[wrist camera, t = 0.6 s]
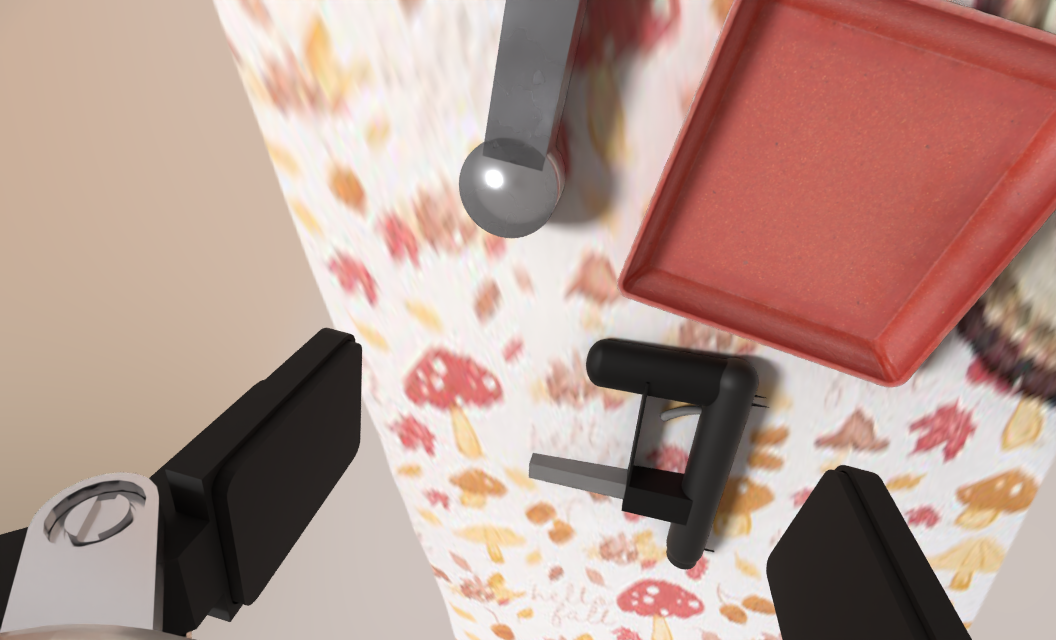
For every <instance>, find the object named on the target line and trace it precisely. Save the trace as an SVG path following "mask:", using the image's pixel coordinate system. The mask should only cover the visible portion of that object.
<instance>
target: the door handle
mask: <svg viewBox="0 0 1056 640" xmlns="http://www.w3.org/2000/svg"><path fill="white" fill-rule="evenodd" d="M586 369H587V374H588V376H589V378H590V380H591V381H592V382H593V383H594V384H595V385H597V386H600V387H605V388H611V389H616V390H621V391H627V392H632V393H637V394H642V400H641V405H640V410H639V415H638V421H637V426H636V431H635V436H634V441H633V447H632V452H631V457H630V462H629V467H628V470H626V469H621V468H617V467H611V466H605V465H600V464H594V463H588V462H582V461H576V460H571V459H565V458H559V457H553V456H547V455H542V454H536V453H533V455H532V458H531V460H530V463H529V478H533V479H537V480H542V481H546V482H550V483H555V484H559V485H563V486H568V487H572V488H576V489H581V490H585V491H589V492H594V493H598V494H602V495H607V496H611V497H616V498H620V499H623V503H622V511H625V512H629V513H634V514H638V515H642V516H646V517H651V518H655V519H659V520H663V521H668V522H671V525H670V529H669V533H668V536H667V551H666V553H667V557H668V559H669V561H670V562H671V563H672V564H673V565H674V566H676V567H678V568H680V569H691V568H693V567H694V566H695V565H696V562H697V561H698V560H699V559H700V558H701V556H702V554H703V551H704V550H705V551H711V552H714V551H713V550H709V549H705V545H706V542H707V539H708V536H709V533H710V530H711V527H712V524H713V521H714V518H715V515H716V512H717V509H718V506H719V503H720V500H721V497H722V494H723V491H724V488H725V485H726V482H727V479H728V475H729V472H730V469H731V466H732V463H733V460H734V457H735V454H736V451H737V448H738V445H739V442H740V439H741V436H742V433H743V430H744V427H745V424H746V421H747V418H748V415H749V412H750V409H751V406H758V407H766V406H762V405H758V404H755V403H753V400H754V397H760V398H765V397H761V396H758V395H755V394H756V391H757V388H758V383H759V379H758V374H757V372H756V370H755V368H754V367H753V366H752V365H751V364H750V363H749V362H747V361H745V360H743V359H740V358H727V359H720V358H714V357H708V356H702V355H696V354H690V353H684V352H678V351H672V350H666V349H660V348H655V347H649V346H643V345H637V344H631V343H625V342H619V341H613V340H607V339H603V340H600V341H598V342H596V343H595V344H594V345H593V346H592V347H591V349H590V351H589V353H588V356H587V361H586ZM647 395H648V396H653V397H659V398H664V399H669V400H675V401H680V402H685V403H691V404H696V405H701V406H685V407H679V408H674V409H671V410H667V411H665V412H662V413H660V418H661V419H662V421H663V422H665V421H667V420H670V419H673V418H676V417H680V416H685V415H693V414H700V417H699V421H698V425H697V429H696V432H695V436H694V440H693V444H692V447H691V451H690V455H689V458H688V462H687V466H686V470H685V473H684V474H682V473H676V472H670V471H664V470H659V469H653V468H647V467H641V466H635V465H633V463H634V458H635V453H636V448H637V443H638V438H639V433H640V428H641V423H642V418H643V413H644V408H645V403H646V397H647ZM768 408H770V407H768Z"/></svg>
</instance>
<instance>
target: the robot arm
mask: <svg viewBox="0 0 1056 640" xmlns="http://www.w3.org/2000/svg"><path fill="white" fill-rule="evenodd" d="M361 379H362V347H361V345H360V344H359V343H355V338H354V336H353V335H352V334H349V333H345V332H341V331H337V330H334V329H330V328H323V329H321V330H320V331H319V332H318V333H317V334H316V335H315V336H313V337H312V338H311V339H310V340H309V341H308V342H307V343H305V344H304V345H303V347H301V348H300V349H299V350H298V351H297V352H295V353H294V354H293V355H292V356H291V357H290V358H289V359H288V360H286V361H285V363H283V364H282V365H281V366H280V367H279V368H278V369H276V370H275V371H274V372H273V373H272V374H271V375H270V376H269V377H267V379H265V380H262V381H260V382H259V383H257V384H256V385H254V386H253V387H252V388H251V389H250V390H249V391H247V392H246V393H245V394H244V395H243V396H242V397H241V398H239V399H238V400H237V401H236V402H235V403H234V404H233V405H232V406H230V407H229V408H228V409H227V410H226V411H225V412H224V413H222V414H221V415H220V416H219V417H218V418H217V419H216V420H215V421H213V422H212V423H211V424H210V425H209V426H208V427H207V428H205V429H204V430H203V431H202V432H201V433H200V434H199V435H198V436H196V437H195V438H194V439H193V440H192V441H191V442H190V443H189V444H187V445H186V446H185V447H184V448H183V449H182V450H181V451H179V453H177V454H176V455H175V456H174V457H173V458H171V459H170V460H169V461H168V462H167V463H166V464H165V465H164V466H162V467H161V468H160V469H159V470H158V471H157V472H156V473H155V474H153V475H152V476H151V477H150V478H146V477H144V476H141V475H139V474H135V473H124V472H118V473H110V474H102V475H99V476H95V477H92V478H88V479H85V480H82V481H80V482H78V483H76V484H74V485H72V486H70V487H68V488H65V489H64V490H62V491H61V492H59V493H58V494H56V495H55V496H54V497H52V498H51V499H49V500H48V501H47V502H46V503H45V504H44V505H43V506H42V507H41V508H40V510H38V512H36V513H35V515H34V517H33V519H32V521H31V523H30V525H29V527H26V528H23V529H19V530H16V531H12V532H8V533H5V534H1V535H0V640H194V639H192V631H193V630H195V629H197V627H198V626H199V625H200V624H201V622H202V621H203V620H204V618H205V617H206V616H207V615H209V616H213V617H216V618H219V619H222V620H225V621H228V622H231V620H232V619H233V618H234V616H235V615H236V614H237V612H238V611H239V609H240V608H241V606H242V605H243V604H244V605H248V606H249V605H251V604H252V603H253V602H254V601H255V600H256V599H257V598H258V597H259V595H260V594H261V592H262V591H263V589H264V588H265V587H266V585H267V583H268V582H269V581H270V579H271V577H272V576H273V575H274V573H275V572H276V571H277V569H278V568H279V566H280V565H281V563H282V562H283V560H284V559H285V558H286V556H287V555H288V553H289V552H290V550H291V549H292V547H293V546H294V544H295V543H296V542H297V540H298V539H299V537H300V536H301V534H302V533H303V531H304V530H305V528H306V527H307V526H308V524H309V522H310V521H311V520H312V518H313V517H314V515H315V514H316V513H317V511H318V510H319V508H320V507H321V505H322V504H323V502H324V501H325V499H326V498H327V496H328V495H329V494H330V492H331V491H332V489H333V488H334V486H335V485H336V484H337V482H338V481H339V479H340V478H341V476H342V475H343V473H344V472H345V470H346V469H347V467H348V466H349V465H350V463H351V462H352V460H353V459H354V457H355V455H356V453H357V451H358V448H359V444H360V428H361ZM766 572H767V578H768V582H769V586H770V590H771V594H772V599H773V603H774V607H775V611H776V615H777V619H778V623H779V627H780V631H781V635H782V639H783V640H972V639H971V637H970V635H969V634H968V632H967V630H966V628H965V627H964V625H963V623H962V621H961V619H960V618H959V616H958V614H957V612H956V611H955V609H954V607H953V605H952V603H951V602H950V600H949V598H948V596H947V595H946V593H945V591H944V589H943V587H942V586H941V584H940V582H939V580H938V579H937V577H936V575H935V573H934V572H933V570H932V568H931V566H930V564H929V563H928V561H927V559H926V557H925V556H924V554H923V552H922V550H921V548H920V547H919V545H918V543H917V541H916V540H915V538H914V536H913V534H912V532H911V531H910V529H909V527H908V525H907V524H906V522H905V520H904V518H903V516H902V515H901V513H900V511H899V509H898V508H897V506H896V504H895V502H894V501H893V499H892V497H891V495H890V493H889V492H888V490H887V488H886V486H885V485H884V483H883V481H882V479H881V478H880V477H879V476H878V475H877V474H875V473H873V472H869V471H865V470H861V469H858V468H854V467H850V466H846V465H840V466H838V467H837V468H836V469H835V470H828V471H826V472H825V473H824V475H823V476H822V478H821V479H820V481H819V482H818V484H817V485H816V487H815V488H814V490H813V491H812V493H811V494H810V496H809V497H808V499H807V500H806V502H805V503H804V505H803V506H802V508H801V509H800V511H799V512H798V514H797V515H796V517H795V518H794V520H793V521H792V523H791V524H790V525H789V527H788V528H787V530H786V531H785V533H784V534H783V536H782V537H781V539H780V540H779V542H778V543H777V545H776V546H775V548H774V549H773V551H772V552H771V554H770V556H769V558H768V561H767V567H766Z"/></svg>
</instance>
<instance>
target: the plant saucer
mask: <svg viewBox="0 0 1056 640" xmlns="http://www.w3.org/2000/svg"><path fill="white" fill-rule="evenodd" d="M1055 210H1056V35H1055V34H1053V33H1050V32H1047V31H1044V30H1040V29H1036V28H1033V27H1030V26H1026V25H1023V24H1020V23H1017V22H1014V21H1011V20H1008V19H1005V18H1001V17H998V16H994V15H991V14H987V13H985V12H982V11H979V10H976V9H974V8H970V7H965V6H962V5H959V4H956V3H953V2H951V1H947V0H734V1H733V3H732V5H731V8H730V10H729V13H728V15H727V17H726V20H725V22H724V25H723V27H722V30H721V32H720V35H719V37H718V40H717V42H716V44H715V47H714V49H713V52H712V54H711V57H710V59H709V61H708V64H707V66H706V69H705V71H704V74H703V76H702V78H701V81H700V83H699V86H698V88H697V90H696V92H695V95H694V97H693V100H692V102H691V104H690V107H689V110H688V113H687V115H686V117H685V120H684V122H683V124H682V127H681V129H680V132H679V134H678V136H677V139H676V141H675V143H674V146H673V149H672V151H671V153H670V156H669V158H668V160H667V162H666V165H665V167H664V169H663V172H662V174H661V177H660V180H659V182H658V184H657V187H656V189H655V192H654V194H653V196H652V199H651V201H650V204H649V206H648V209H647V211H646V214H645V216H644V218H643V220H642V223H641V226H640V228H639V231H638V233H637V235H636V238H635V240H634V242H633V245H632V247H631V249H630V252H629V254H628V256H627V259H626V261H625V264H624V266H623V269H622V271H621V273H620V276H619V278H618V281H617V288H618V290H619V292H620V293H621V295H622V296H624V297H626V298H629V299H632V300H634V301H637V302H640V303H643V304H646V305H648V306H651V307H655V308H658V309H661V310H663V311H666V312H670V313H672V314H675V315H678V316H681V317H684V318H687V319H690V320H693V321H696V322H698V323H701V324H704V325H707V326H710V327H713V328H716V329H718V330H722V331H725V332H728V333H731V334H734V335H737V336H739V337H742V338H745V339H747V340H750V341H753V342H757V343H759V344H762V345H765V346H769V347H771V348H774V349H777V350H780V351H783V352H785V353H789V354H792V355H794V356H797V357H799V358H802V359H805V360H808V361H811V362H814V363H817V364H820V365H823V366H825V367H828V368H832V369H835V370H838V371H840V372H843V373H846V374H849V375H851V376H854V377H857V378H860V379H863V380H866V381H869V382H872V383H874V384H877V385H880V386H884V387H897V386H900V385H903V384H904V383H905V382H907V381H908V380H909V379H910V378H911V376H912V375H913V374H914V373H915V372H916V370H917V369H918V368H919V367H920V366H921V365H922V363H923V362H924V361H925V360H926V359H927V358H928V357H929V355H930V354H931V353H932V352H933V351H934V350H935V349H936V348H937V347H938V346H939V344H940V343H941V342H942V341H943V339H944V338H945V337H946V336H947V335H948V333H949V332H950V331H951V330H952V329H953V328H954V327H955V326H956V325H957V323H958V322H959V321H960V320H961V319H962V318H963V317H964V315H965V314H966V313H967V312H968V311H969V310H970V308H971V307H972V306H973V305H974V304H975V303H976V301H977V300H978V299H979V298H980V297H981V296H982V295H983V294H984V293H985V292H986V291H987V290H988V288H989V287H990V286H991V285H992V283H993V282H994V281H995V279H996V278H997V277H998V276H999V275H1000V274H1001V273H1002V271H1003V270H1004V269H1005V268H1006V267H1007V266H1008V265H1009V263H1010V262H1011V261H1012V260H1013V259H1014V257H1015V256H1016V255H1017V254H1018V253H1019V252H1020V251H1021V249H1022V248H1023V247H1024V246H1025V245H1026V244H1027V243H1028V241H1029V240H1030V239H1031V237H1032V236H1033V235H1034V234H1035V233H1036V232H1037V231H1038V230H1039V229H1040V228H1041V227H1042V226H1043V224H1044V223H1045V222H1046V220H1047V219H1048V218H1049V217H1050V216H1051V215H1052V213H1053V212H1054V211H1055Z"/></svg>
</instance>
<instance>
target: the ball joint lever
mask: <svg viewBox="0 0 1056 640" xmlns="http://www.w3.org/2000/svg"><path fill="white" fill-rule="evenodd" d="M587 2H588V0H506V4H505V10H504V17H503V24H502V30H501V37H500V43H499V50H498V56H497V63H496V69H495V76H494V82H493V89H492V96H491V102H490V109H489V115H488V122H487V128H486V135H485V141H484V142H483V143H482V144H480V145H479V146H478V147H476V148H475V149H474V150H473V151H472V152H471V153H470V154H469V156H468V157H467V158H466V160H465V162H464V164H463V166H462V169H461V173H460V178H459V191H460V196H461V200H462V203H463V205H464V207H465V209H466V211H467V213H468V215H469V216H470V217H471V218H472V220H473V221H474V222H475V223H476V224H477V225H478V226H480V227H481V228H482V229H484V230H485V231H487V232H489V233H491V234H493V235H496V236H499V237H504V238H519V237H524V236H527V235H529V234H532V233H534V232H535V231H537V230H538V229H540V228H541V227H542V226H543V225H544V224H545V223H546V222H547V221H548V219H549V218H550V216H551V214H552V212H553V210H554V208H555V206H556V204H557V202H558V201H559V199H560V197H561V194H562V192H563V189H564V186H565V178H566V172H565V165H564V161H563V158H562V156H561V154H560V152H559V150H558V149H557V147H556V146H555V145H556V140H557V136H558V131H559V127H560V122H561V118H562V113H563V109H564V104H565V100H566V95H567V91H568V87H569V82H570V78H571V73H572V69H573V64H574V60H575V55H576V51H577V46H578V42H579V38H580V33H581V29H582V24H583V20H584V15H585V11H586V6H587Z"/></svg>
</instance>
